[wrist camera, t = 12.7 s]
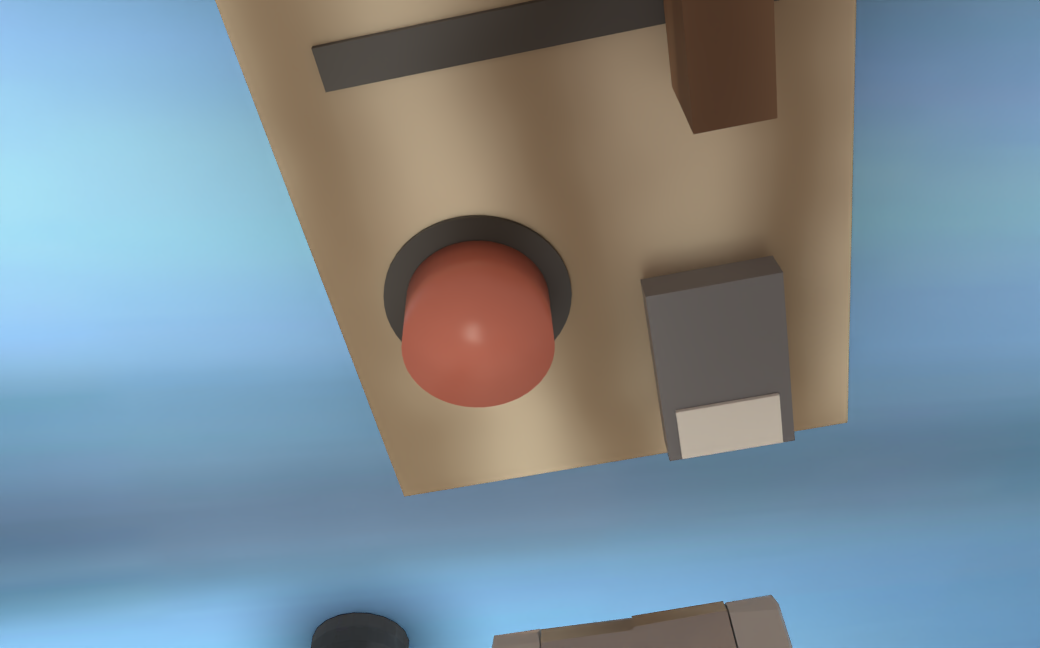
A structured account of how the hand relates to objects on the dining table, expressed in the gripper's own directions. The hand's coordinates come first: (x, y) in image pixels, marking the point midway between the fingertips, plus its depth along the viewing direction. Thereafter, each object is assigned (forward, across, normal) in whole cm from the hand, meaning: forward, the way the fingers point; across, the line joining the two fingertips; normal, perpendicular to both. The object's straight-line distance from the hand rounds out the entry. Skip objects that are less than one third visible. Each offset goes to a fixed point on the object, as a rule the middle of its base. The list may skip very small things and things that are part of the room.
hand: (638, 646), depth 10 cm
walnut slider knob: (+17, +4, +1) cm, 18 cm away
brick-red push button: (+18, -3, -7) cm, 19 cm away
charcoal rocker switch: (+17, +4, -10) cm, 20 cm away
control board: (+21, 0, -5) cm, 22 cm away
